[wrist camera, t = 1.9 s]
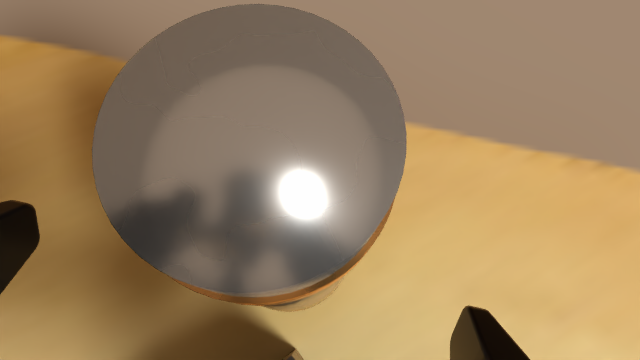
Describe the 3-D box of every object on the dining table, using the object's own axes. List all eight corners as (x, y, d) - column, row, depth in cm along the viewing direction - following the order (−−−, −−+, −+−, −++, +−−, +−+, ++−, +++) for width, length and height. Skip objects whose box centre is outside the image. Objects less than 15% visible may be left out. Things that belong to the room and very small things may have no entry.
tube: (376, 262, 18) (480, 162, 7) (275, 342, 17) (199, 381, 6) (302, 169, 19) (287, -47, 8) (204, 238, 18) (28, 102, 7)
